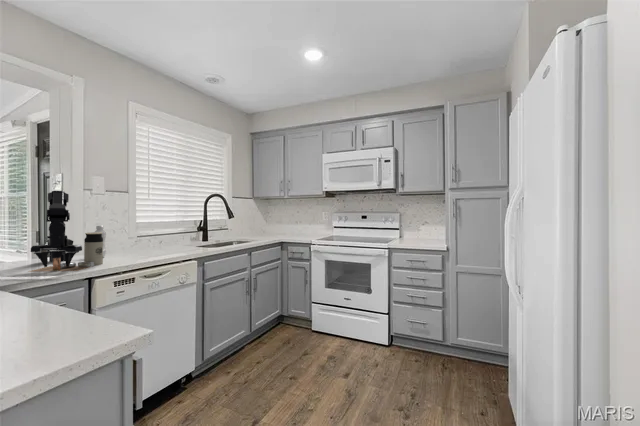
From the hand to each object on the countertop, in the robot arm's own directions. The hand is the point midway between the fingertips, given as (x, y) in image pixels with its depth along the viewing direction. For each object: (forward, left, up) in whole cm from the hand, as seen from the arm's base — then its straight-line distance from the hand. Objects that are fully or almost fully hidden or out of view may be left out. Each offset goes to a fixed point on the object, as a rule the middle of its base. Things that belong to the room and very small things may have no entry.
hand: (56, 266), depth 144 cm
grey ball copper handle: (0, +5, -1) cm, 5 cm away
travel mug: (+7, +17, -3) cm, 18 cm away
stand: (0, +5, -3) cm, 6 cm away
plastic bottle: (-8, +51, -3) cm, 52 cm away
